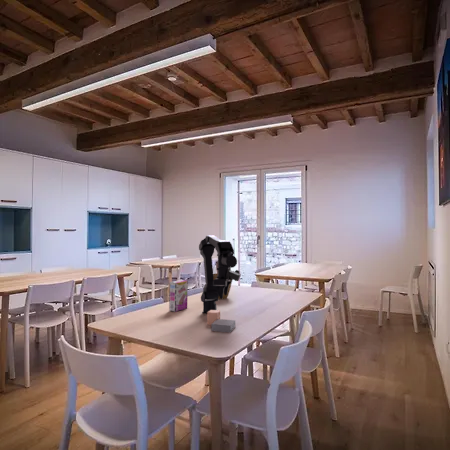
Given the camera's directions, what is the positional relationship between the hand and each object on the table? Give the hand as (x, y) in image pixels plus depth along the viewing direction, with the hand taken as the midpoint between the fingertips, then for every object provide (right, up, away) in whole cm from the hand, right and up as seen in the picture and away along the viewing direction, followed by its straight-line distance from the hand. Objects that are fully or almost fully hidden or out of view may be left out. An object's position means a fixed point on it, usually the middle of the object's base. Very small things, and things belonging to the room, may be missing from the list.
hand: (223, 296), depth 165 cm
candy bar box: (-26, -13, +25) cm, 38 cm away
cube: (-5, -13, -3) cm, 14 cm away
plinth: (0, -12, -11) cm, 17 cm away
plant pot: (-1, -13, +57) cm, 58 cm away
